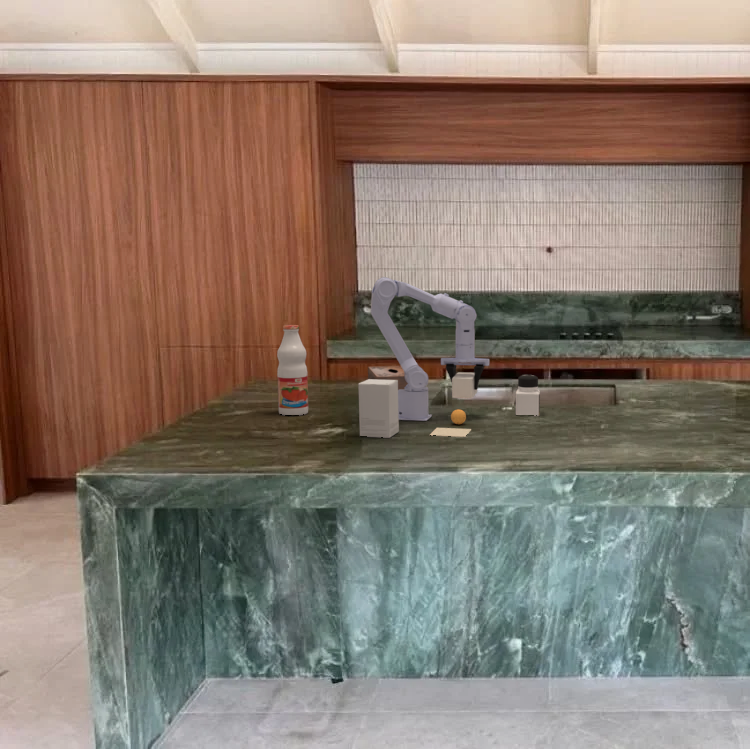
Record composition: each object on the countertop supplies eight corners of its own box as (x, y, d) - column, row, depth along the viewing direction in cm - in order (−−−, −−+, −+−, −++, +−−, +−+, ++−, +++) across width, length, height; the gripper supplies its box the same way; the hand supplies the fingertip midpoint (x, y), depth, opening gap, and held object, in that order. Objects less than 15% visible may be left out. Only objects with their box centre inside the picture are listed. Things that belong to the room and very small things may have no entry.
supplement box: (399, 432, 240) (399, 379, 238) (389, 438, 231) (389, 384, 229) (369, 430, 243) (368, 378, 241) (358, 436, 234) (357, 383, 232)
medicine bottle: (539, 416, 259) (539, 377, 257) (515, 415, 260) (515, 377, 259) (539, 412, 266) (540, 374, 264) (516, 411, 267) (516, 373, 266)
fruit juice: (303, 409, 276) (300, 323, 272) (312, 414, 267) (310, 325, 263) (275, 412, 272) (272, 325, 268) (283, 417, 263) (280, 327, 259)
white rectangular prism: (472, 398, 253) (472, 378, 252) (452, 398, 255) (452, 378, 254) (477, 391, 262) (477, 372, 261) (458, 391, 264) (457, 372, 263)
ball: (449, 425, 248) (449, 410, 247) (452, 422, 252) (452, 407, 251) (464, 426, 246) (464, 411, 246) (467, 423, 250) (467, 408, 250)
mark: (429, 435, 234) (429, 434, 234) (436, 428, 244) (436, 427, 244) (465, 437, 231) (465, 436, 231) (471, 429, 241) (471, 429, 241)
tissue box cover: (368, 394, 306) (367, 366, 305) (407, 392, 308) (407, 365, 306) (377, 406, 281) (376, 376, 279) (420, 405, 283) (420, 375, 281)
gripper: (438, 345, 254) (438, 390, 256) (487, 346, 250) (486, 391, 252) (443, 342, 261) (443, 386, 263) (490, 343, 257) (490, 387, 259)
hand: (465, 388), depth 258 cm, fingers closed on white rectangular prism, 6 cm apart
